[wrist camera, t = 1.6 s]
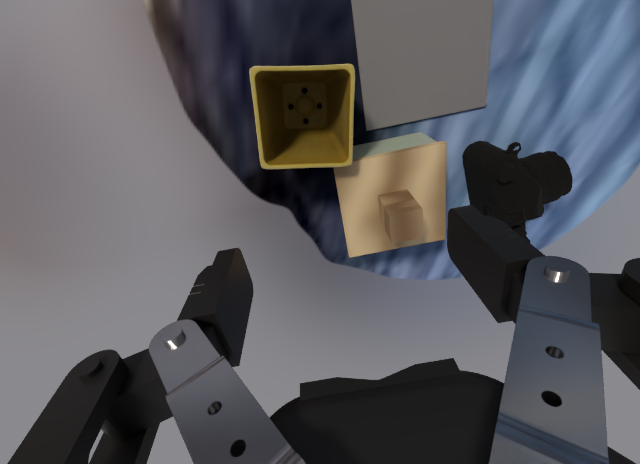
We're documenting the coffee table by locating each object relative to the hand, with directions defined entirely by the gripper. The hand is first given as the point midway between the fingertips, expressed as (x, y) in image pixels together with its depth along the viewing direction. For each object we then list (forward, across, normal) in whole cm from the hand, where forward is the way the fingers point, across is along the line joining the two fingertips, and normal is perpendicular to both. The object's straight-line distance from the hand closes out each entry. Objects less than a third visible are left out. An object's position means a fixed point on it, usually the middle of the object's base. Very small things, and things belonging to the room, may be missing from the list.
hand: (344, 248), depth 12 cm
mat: (+28, -13, -5) cm, 31 cm away
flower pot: (+28, +1, -2) cm, 28 cm away
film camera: (+28, -23, +12) cm, 38 cm away
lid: (+22, -7, +9) cm, 25 cm away
